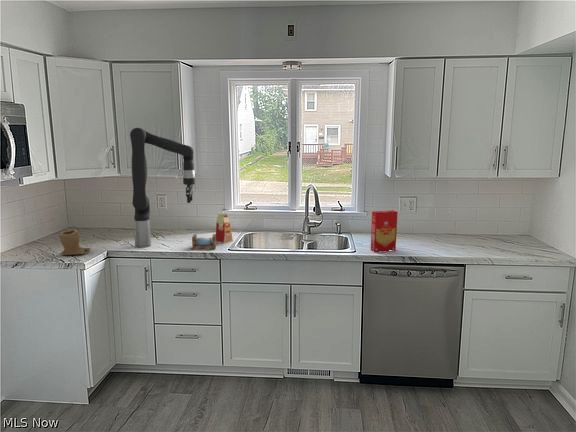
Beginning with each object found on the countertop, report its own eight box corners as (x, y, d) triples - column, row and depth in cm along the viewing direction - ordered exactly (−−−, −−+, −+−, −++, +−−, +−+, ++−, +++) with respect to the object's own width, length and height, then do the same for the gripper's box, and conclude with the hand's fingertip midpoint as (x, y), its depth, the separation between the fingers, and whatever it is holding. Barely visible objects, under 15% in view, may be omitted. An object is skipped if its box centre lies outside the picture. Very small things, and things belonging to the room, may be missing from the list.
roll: (196, 248, 280) (195, 240, 277) (197, 243, 285) (196, 236, 282) (211, 248, 281) (211, 240, 278) (212, 243, 285) (211, 236, 283)
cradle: (192, 249, 277) (192, 237, 276) (194, 246, 286) (193, 234, 284) (214, 249, 278) (214, 237, 277) (216, 245, 287) (215, 233, 286)
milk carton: (233, 241, 300) (232, 212, 297) (224, 243, 292) (223, 214, 289) (222, 239, 305) (221, 211, 301) (213, 242, 297) (213, 213, 293)
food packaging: (374, 252, 273) (376, 212, 269) (370, 250, 278) (372, 211, 274) (395, 250, 277) (397, 211, 273) (391, 248, 282) (393, 210, 278)
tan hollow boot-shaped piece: (57, 257, 258) (54, 232, 256) (66, 252, 270) (64, 228, 267) (83, 257, 259) (81, 232, 256) (91, 252, 271) (89, 228, 268)
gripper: (184, 176, 292) (185, 200, 295) (181, 178, 278) (182, 203, 281) (196, 176, 292) (197, 200, 295) (193, 178, 278) (194, 203, 281)
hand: (189, 201), depth 288 cm, fingers open, 8 cm apart
